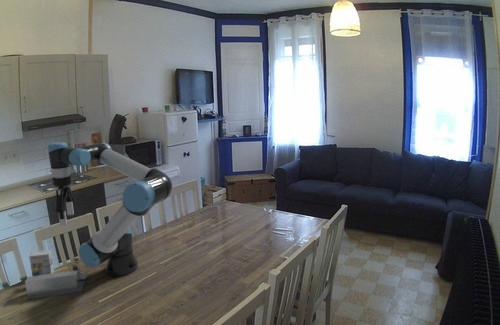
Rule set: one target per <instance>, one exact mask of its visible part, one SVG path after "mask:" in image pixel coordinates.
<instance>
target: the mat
mask: <svg viewBox="0 0 500 325" xmlns="http://www.w3.org/2000/svg"><path fill="white" fill-rule="evenodd" d="M85 282H86V280H85V281H80V282H79V286H78V288H77V289H72V290H65V291H58V292H52V293H45V294H38V295H31V296H27V295H26V297H25V300H26V301H27V300H33V299H40V298H48V297H53V296H59V295H60V296H61V295H67V294H74V293H78V292H79V293H80V292H82V291H83V288H84V286H85Z"/></svg>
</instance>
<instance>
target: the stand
mask: <svg viewBox="0 0 500 325" xmlns="http://www.w3.org/2000/svg"><path fill="white" fill-rule="evenodd" d="M73 261H74V262H71V264H70V266H71V268H72V271H75V270H78V278H79V282H81V281H85V282H86V280H87V277H88V273H89V272H81V271H80V264H79V262H80V256H79V257H78V256H77V257H73ZM36 264H37V266H42V262H37V263H36ZM32 271H33V272H34V273H35V276H38V275H42V270H41V267H36V268H33V269H32V270H31V272H32Z"/></svg>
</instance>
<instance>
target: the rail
mask: <svg viewBox="0 0 500 325" xmlns="http://www.w3.org/2000/svg"><path fill="white" fill-rule="evenodd" d="M24 283H25V284H24V285H25V289H26V297H27V296H31V295H38V294H45V293H52V292H58V291H65V290H72V289H77V288H78V286H79V278H78V270H75V271H73V270H69V271H68V270H67V271H62V272H61V271H60V272H55V273H54V272H53V274H46V275H38V276H32V275H31V276H27V278H26V280H25V281H24Z"/></svg>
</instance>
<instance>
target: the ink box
mask: <svg viewBox="0 0 500 325" xmlns="http://www.w3.org/2000/svg"><path fill="white" fill-rule="evenodd" d="M28 257H29V262H30V269H31V276H35V273H34V272H33V271H32V269H33V268H36V267H41V270H42V275H46V274H53V273H54V272H55V265H54V262H53V261H54V259H53V254H52V250H51V249H44V250H33V251H32V252H30V254H29V256H28ZM37 262H42V266H37V264H36V263H37Z"/></svg>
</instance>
